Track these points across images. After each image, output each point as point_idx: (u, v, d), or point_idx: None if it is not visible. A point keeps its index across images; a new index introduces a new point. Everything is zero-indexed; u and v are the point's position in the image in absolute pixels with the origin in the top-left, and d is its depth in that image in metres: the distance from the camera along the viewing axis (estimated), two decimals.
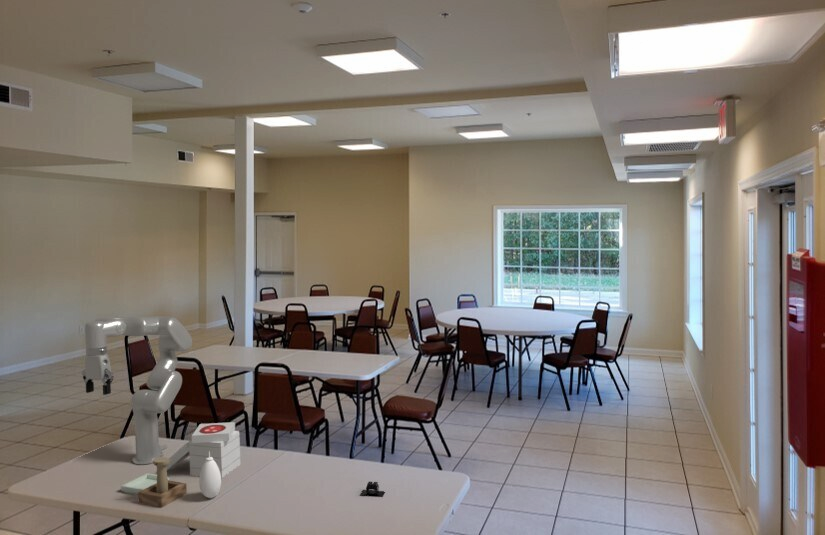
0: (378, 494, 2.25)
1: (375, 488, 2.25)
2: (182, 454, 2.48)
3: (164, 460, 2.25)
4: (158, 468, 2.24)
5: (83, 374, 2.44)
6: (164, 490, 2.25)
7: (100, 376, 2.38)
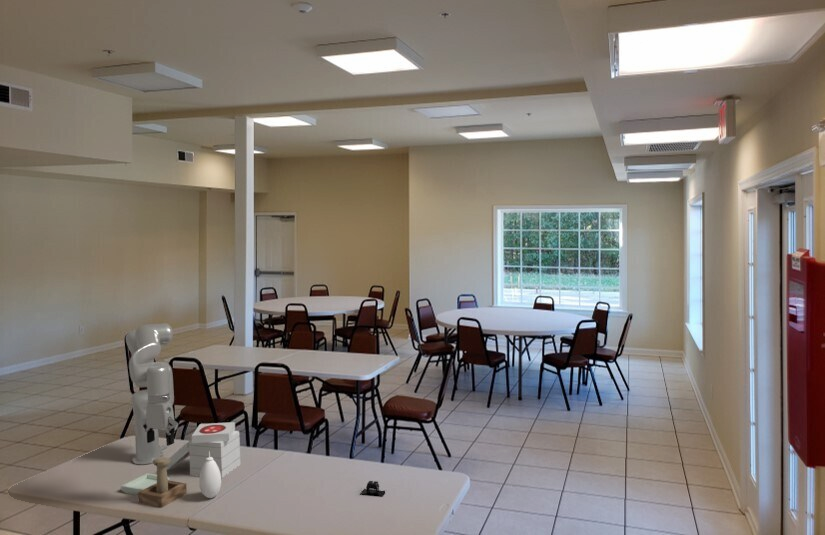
0: (378, 494, 2.26)
1: (375, 487, 2.26)
2: (182, 454, 2.48)
3: (164, 460, 2.25)
4: (158, 468, 2.24)
5: (143, 422, 2.27)
6: (164, 490, 2.25)
7: (163, 425, 2.21)
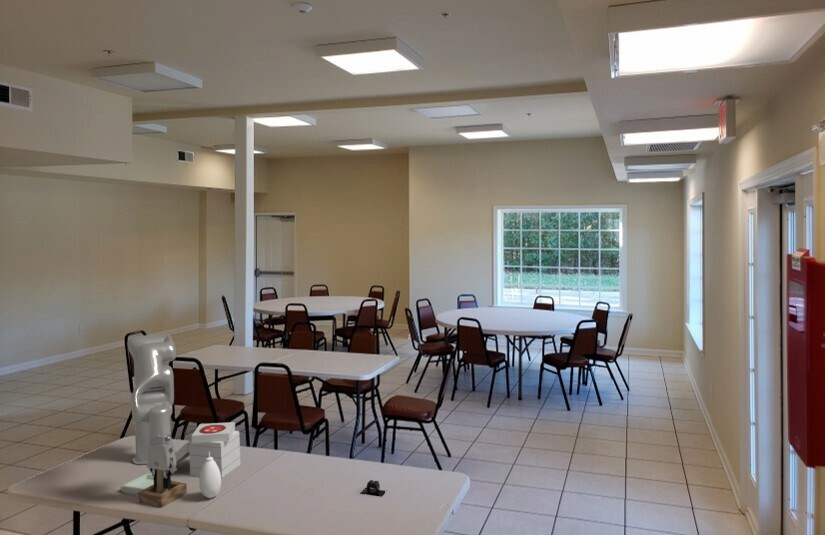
0: (378, 493, 2.26)
1: (375, 487, 2.26)
2: (182, 454, 2.48)
3: None
4: None
5: (149, 467, 2.27)
6: (164, 490, 2.25)
7: (165, 467, 2.22)
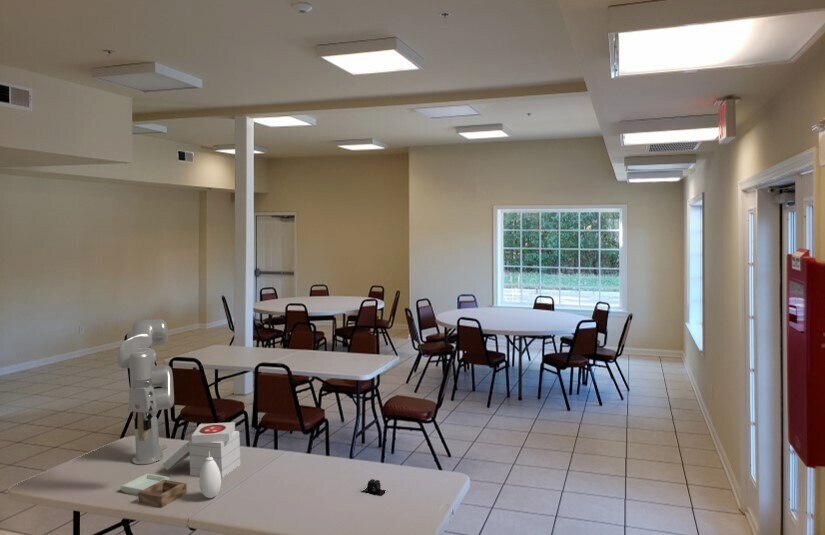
0: (378, 492, 2.27)
1: (375, 486, 2.27)
2: (182, 454, 2.48)
3: None
4: None
5: (130, 410, 2.36)
6: (144, 432, 2.34)
7: (145, 409, 2.31)
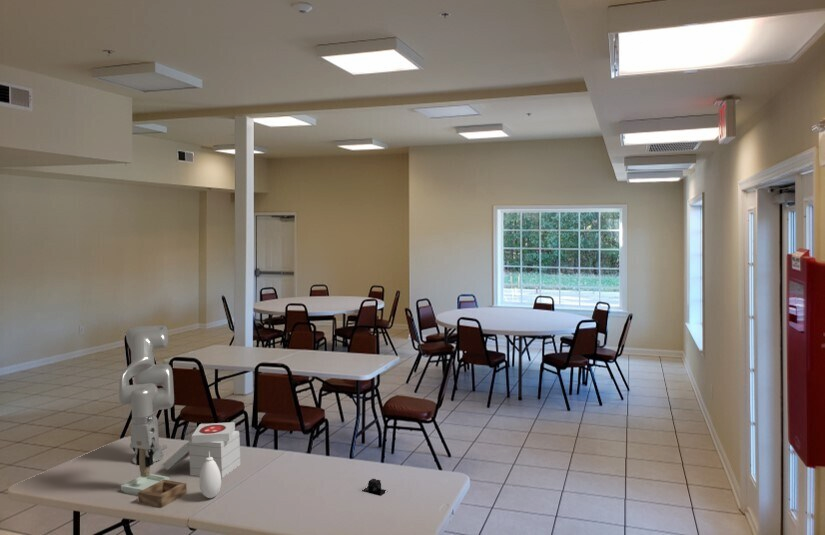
0: (378, 492, 2.27)
1: (375, 486, 2.27)
2: (182, 454, 2.48)
3: None
4: None
5: (132, 446, 2.37)
6: (146, 468, 2.34)
7: (147, 445, 2.32)
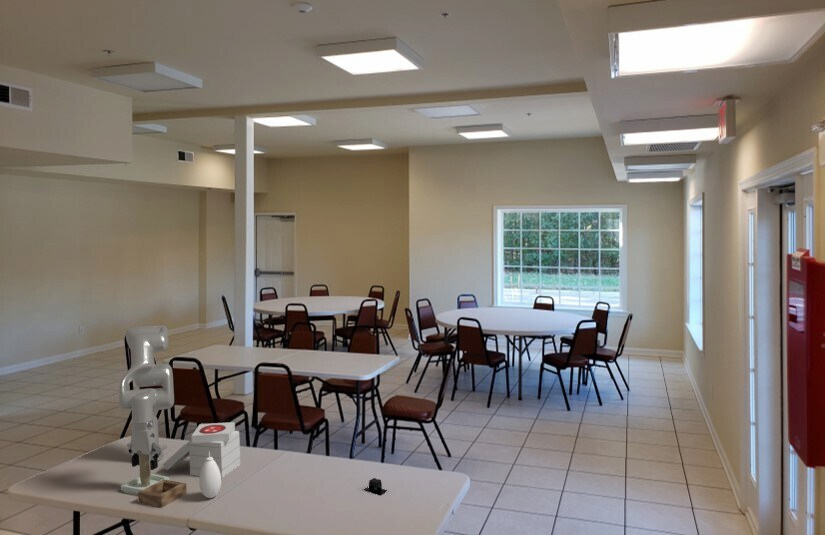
0: (378, 492, 2.27)
1: (375, 485, 2.28)
2: (182, 454, 2.48)
3: None
4: (141, 456, 2.34)
5: (128, 447, 2.38)
6: (147, 478, 2.35)
7: (147, 451, 2.32)
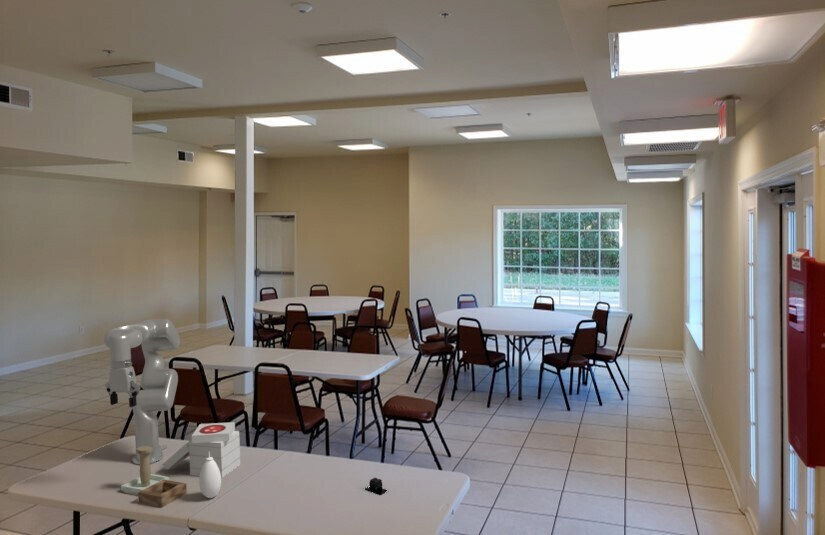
0: (378, 491, 2.28)
1: (376, 485, 2.28)
2: (182, 454, 2.48)
3: (147, 448, 2.35)
4: (141, 456, 2.35)
5: (107, 386, 2.42)
6: (147, 477, 2.35)
7: (126, 389, 2.37)
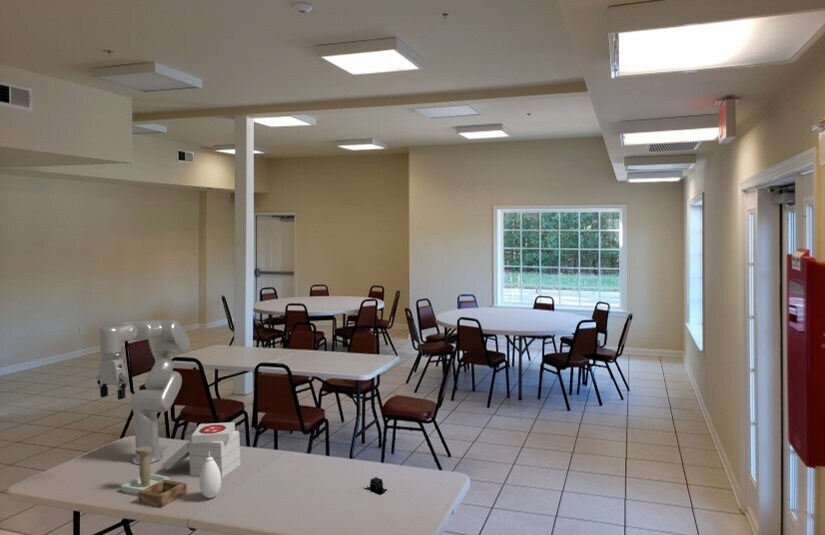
0: (379, 491, 2.28)
1: (376, 485, 2.28)
2: (182, 454, 2.48)
3: (146, 448, 2.35)
4: (140, 456, 2.34)
5: (97, 379, 2.45)
6: (146, 477, 2.35)
7: (115, 381, 2.39)
